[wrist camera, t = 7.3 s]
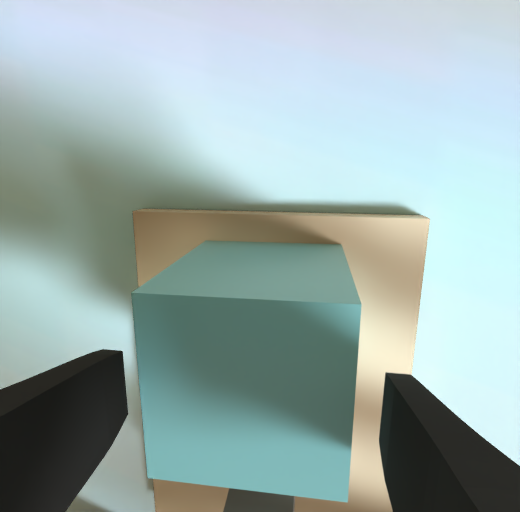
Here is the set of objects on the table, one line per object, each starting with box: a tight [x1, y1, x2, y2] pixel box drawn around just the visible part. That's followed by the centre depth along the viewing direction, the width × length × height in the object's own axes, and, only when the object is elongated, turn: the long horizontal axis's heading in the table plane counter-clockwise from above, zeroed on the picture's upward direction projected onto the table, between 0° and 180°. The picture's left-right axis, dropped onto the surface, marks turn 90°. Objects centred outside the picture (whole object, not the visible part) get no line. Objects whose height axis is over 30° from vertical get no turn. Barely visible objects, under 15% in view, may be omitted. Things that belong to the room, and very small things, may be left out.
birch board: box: [133, 209, 430, 512], centre depth 15 cm, size 16×12×6 cm
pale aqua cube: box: [131, 240, 362, 503], centre depth 13 cm, size 6×6×7 cm
